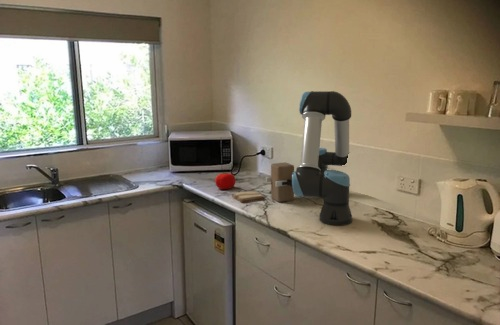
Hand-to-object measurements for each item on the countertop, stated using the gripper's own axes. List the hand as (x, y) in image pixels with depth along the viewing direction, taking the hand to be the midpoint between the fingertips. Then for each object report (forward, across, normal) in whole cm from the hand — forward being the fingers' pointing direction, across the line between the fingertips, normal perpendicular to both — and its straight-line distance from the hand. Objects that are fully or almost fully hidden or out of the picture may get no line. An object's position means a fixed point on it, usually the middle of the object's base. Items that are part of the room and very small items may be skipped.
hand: (271, 181), depth 211 cm
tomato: (+13, +36, -11) cm, 40 cm away
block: (-7, 0, -11) cm, 13 cm away
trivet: (+9, +11, -11) cm, 18 cm away
